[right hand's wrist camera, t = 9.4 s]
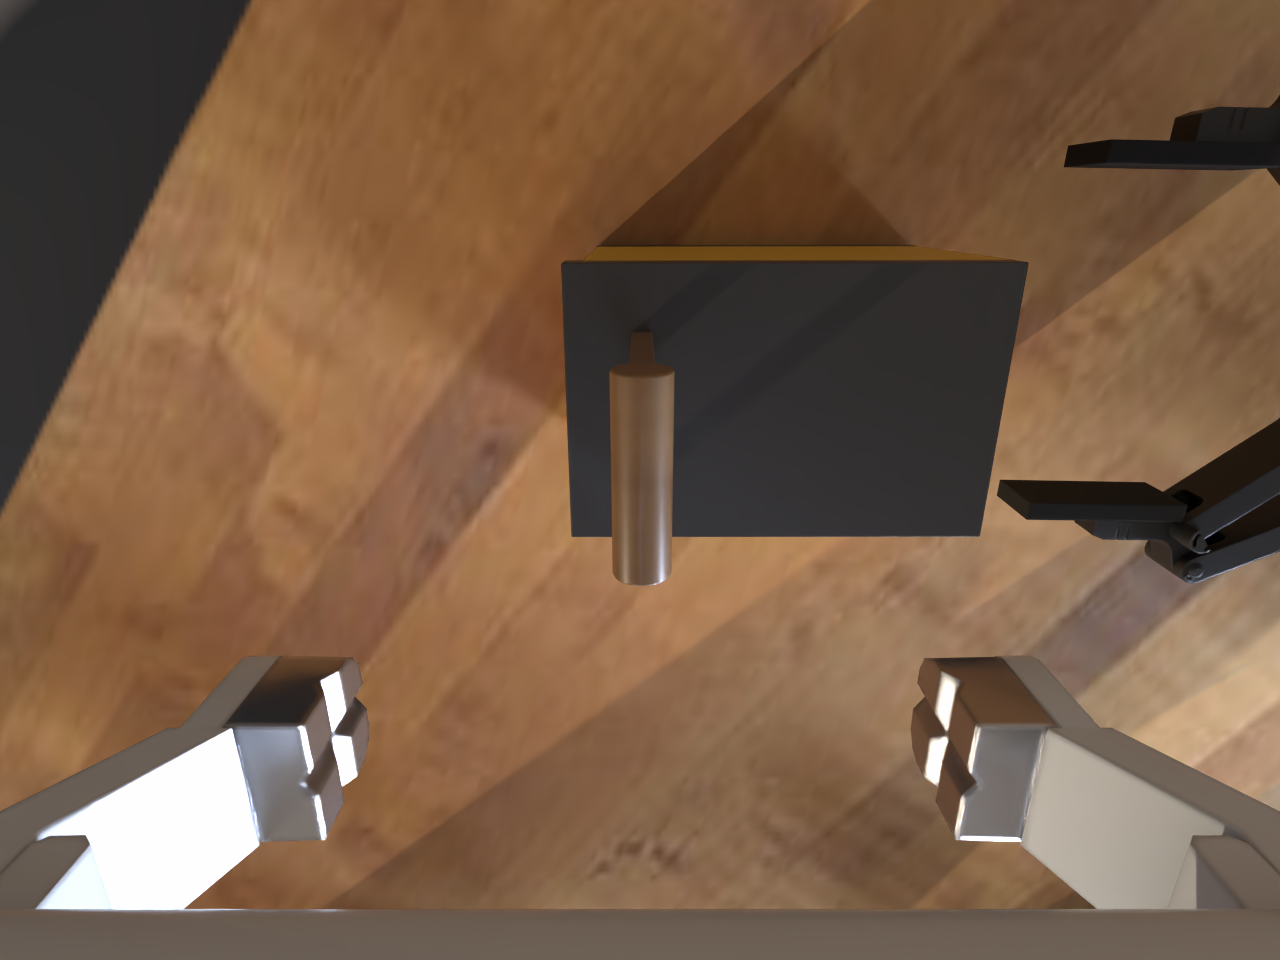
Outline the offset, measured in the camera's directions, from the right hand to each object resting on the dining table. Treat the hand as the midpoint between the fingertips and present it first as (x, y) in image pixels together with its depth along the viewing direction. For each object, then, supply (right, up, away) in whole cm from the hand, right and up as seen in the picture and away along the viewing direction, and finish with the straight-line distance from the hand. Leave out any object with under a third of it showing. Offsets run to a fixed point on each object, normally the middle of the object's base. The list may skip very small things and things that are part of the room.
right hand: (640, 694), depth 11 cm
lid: (+5, +6, +16) cm, 18 cm away
